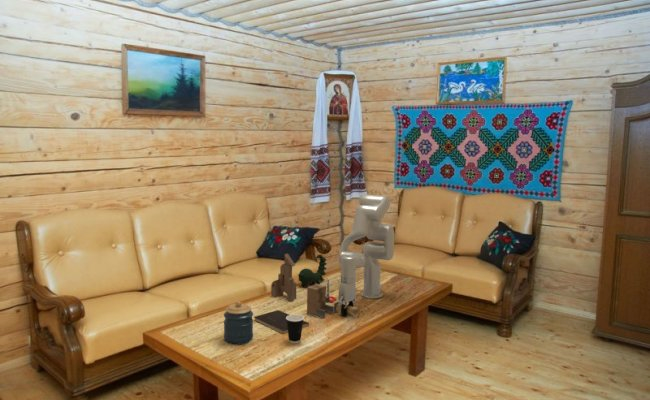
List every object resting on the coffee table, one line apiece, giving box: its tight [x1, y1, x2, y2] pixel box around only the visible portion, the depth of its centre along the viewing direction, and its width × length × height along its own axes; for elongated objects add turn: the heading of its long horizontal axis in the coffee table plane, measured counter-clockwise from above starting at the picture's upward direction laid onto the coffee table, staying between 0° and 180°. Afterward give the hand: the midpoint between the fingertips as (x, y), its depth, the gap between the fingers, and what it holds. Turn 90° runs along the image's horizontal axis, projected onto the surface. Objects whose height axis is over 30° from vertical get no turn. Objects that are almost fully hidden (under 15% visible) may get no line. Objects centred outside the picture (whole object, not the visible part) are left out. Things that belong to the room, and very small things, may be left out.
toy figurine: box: [297, 254, 327, 288], centre depth 307 cm, size 9×19×25 cm
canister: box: [223, 300, 254, 346], centre depth 223 cm, size 13×13×18 cm
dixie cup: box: [286, 314, 305, 344], centre depth 222 cm, size 8×8×11 cm
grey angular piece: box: [306, 283, 334, 319], centre depth 257 cm, size 8×11×14 cm
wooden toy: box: [270, 253, 297, 302], centre depth 281 cm, size 16×7×25 cm, turn 52°
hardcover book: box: [253, 309, 310, 334], centre depth 244 cm, size 16×23×2 cm
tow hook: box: [326, 278, 337, 303], centre depth 280 cm, size 8×13×9 cm
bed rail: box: [333, 300, 360, 319], centre depth 258 cm, size 13×4×5 cm, turn 55°
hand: (347, 313), depth 258 cm, fingers open, 5 cm apart
